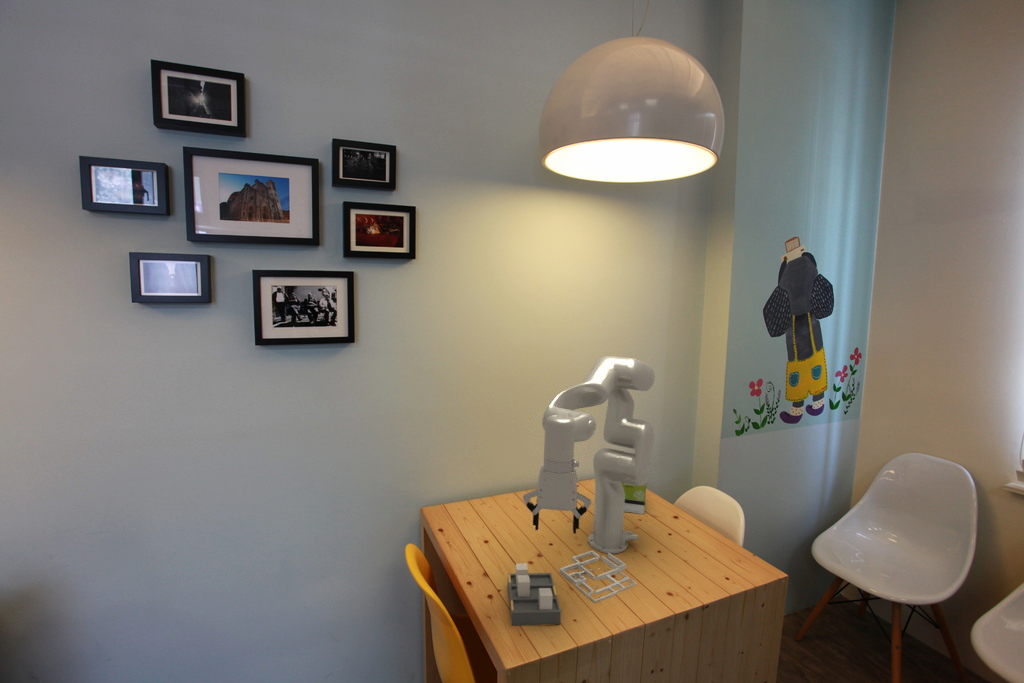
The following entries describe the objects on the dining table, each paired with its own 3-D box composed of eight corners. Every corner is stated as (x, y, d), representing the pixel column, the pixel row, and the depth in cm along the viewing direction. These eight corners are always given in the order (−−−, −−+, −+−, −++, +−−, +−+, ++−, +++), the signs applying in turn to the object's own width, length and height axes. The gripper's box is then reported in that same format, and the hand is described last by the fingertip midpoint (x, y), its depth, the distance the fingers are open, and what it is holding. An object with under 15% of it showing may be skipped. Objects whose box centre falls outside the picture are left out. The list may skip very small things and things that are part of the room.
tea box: (604, 510, 175) (605, 472, 174) (604, 499, 185) (606, 463, 184) (644, 515, 172) (646, 476, 171) (643, 503, 182) (645, 467, 180)
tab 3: (550, 603, 116) (550, 588, 116) (552, 611, 113) (552, 595, 113) (538, 603, 116) (538, 588, 115) (539, 611, 113) (540, 595, 112)
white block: (528, 589, 121) (528, 575, 121) (529, 597, 118) (529, 582, 118) (517, 589, 121) (517, 575, 120) (517, 597, 118) (518, 582, 117)
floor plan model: (587, 543, 152) (587, 537, 151) (644, 584, 130) (645, 577, 130) (540, 558, 142) (540, 552, 142) (594, 605, 121) (595, 598, 120)
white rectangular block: (526, 577, 126) (526, 563, 126) (527, 583, 124) (527, 569, 123) (515, 577, 126) (515, 563, 126) (516, 584, 123) (516, 569, 123)
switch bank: (550, 584, 128) (551, 572, 128) (560, 624, 112) (560, 610, 112) (507, 584, 127) (508, 572, 127) (511, 625, 112) (511, 611, 111)
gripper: (591, 461, 119) (588, 525, 121) (525, 457, 121) (523, 520, 122) (593, 472, 112) (590, 539, 113) (523, 467, 114) (520, 533, 115)
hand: (555, 529), depth 118 cm, fingers open, 9 cm apart
